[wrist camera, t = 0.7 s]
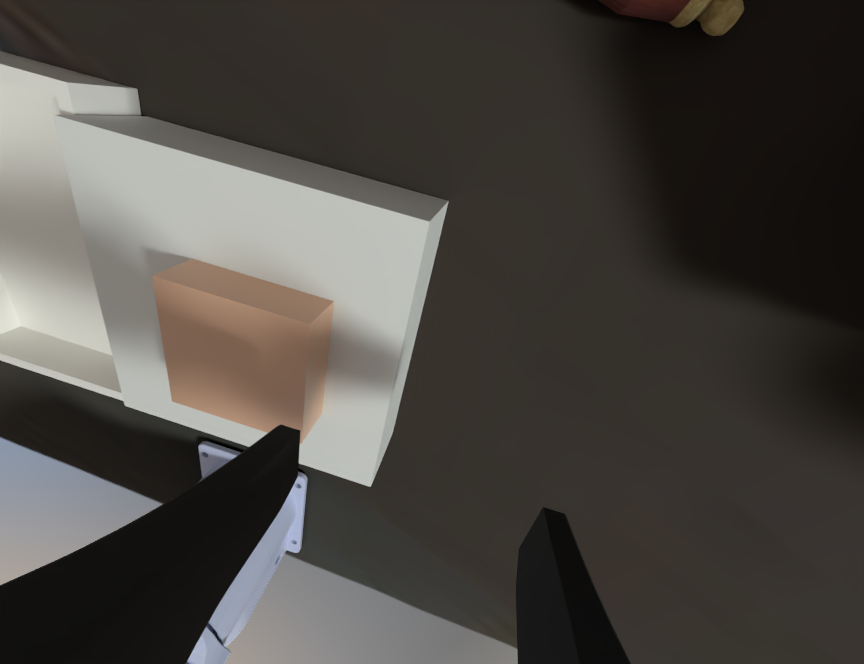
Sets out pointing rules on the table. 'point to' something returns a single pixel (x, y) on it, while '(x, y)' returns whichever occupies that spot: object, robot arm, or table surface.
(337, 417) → the board
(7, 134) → the tray
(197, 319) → the tile
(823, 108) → the table surface
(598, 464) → the table surface
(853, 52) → the table surface
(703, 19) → the gavel
